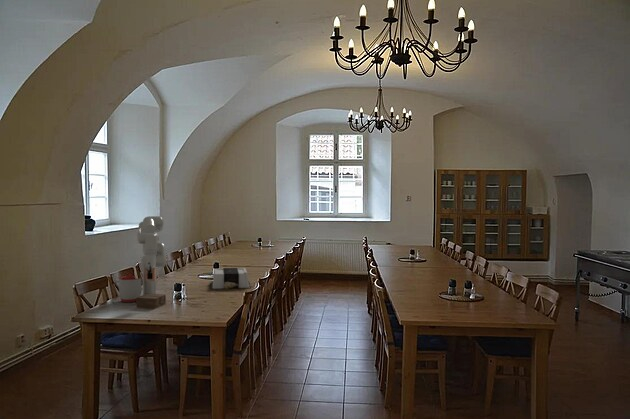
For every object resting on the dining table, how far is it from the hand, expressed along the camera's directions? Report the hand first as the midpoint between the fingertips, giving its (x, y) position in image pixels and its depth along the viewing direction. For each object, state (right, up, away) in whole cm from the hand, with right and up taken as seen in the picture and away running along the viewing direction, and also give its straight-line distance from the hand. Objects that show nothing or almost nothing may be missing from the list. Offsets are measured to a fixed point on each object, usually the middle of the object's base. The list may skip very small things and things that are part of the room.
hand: (151, 277), depth 344 cm
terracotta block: (0, -2, 0) cm, 2 cm away
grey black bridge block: (+41, -17, +77) cm, 89 cm away
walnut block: (0, -20, +1) cm, 20 cm away
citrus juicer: (-20, -19, +16) cm, 31 cm away
